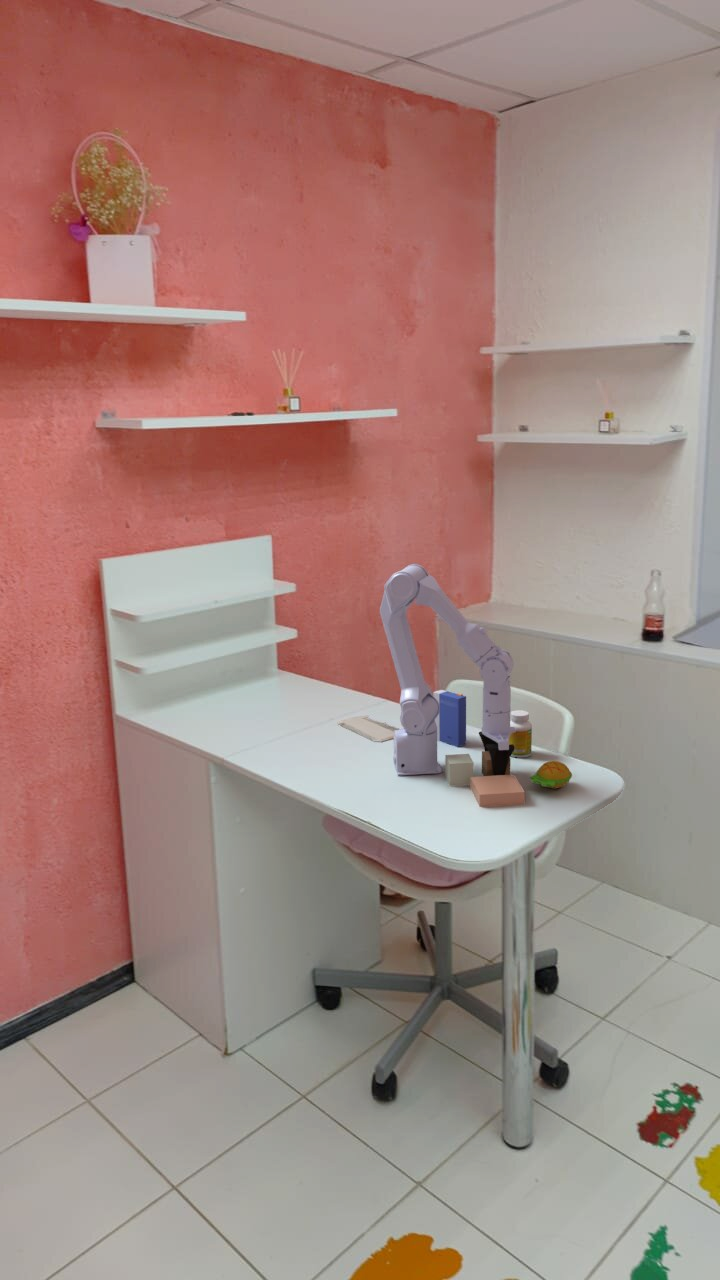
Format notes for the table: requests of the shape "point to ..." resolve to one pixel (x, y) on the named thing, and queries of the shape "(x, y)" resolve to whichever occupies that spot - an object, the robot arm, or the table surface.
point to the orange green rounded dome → (552, 774)
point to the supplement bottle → (521, 734)
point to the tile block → (497, 790)
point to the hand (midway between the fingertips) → (495, 770)
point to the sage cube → (459, 769)
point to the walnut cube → (490, 765)
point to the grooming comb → (369, 728)
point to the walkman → (451, 718)
